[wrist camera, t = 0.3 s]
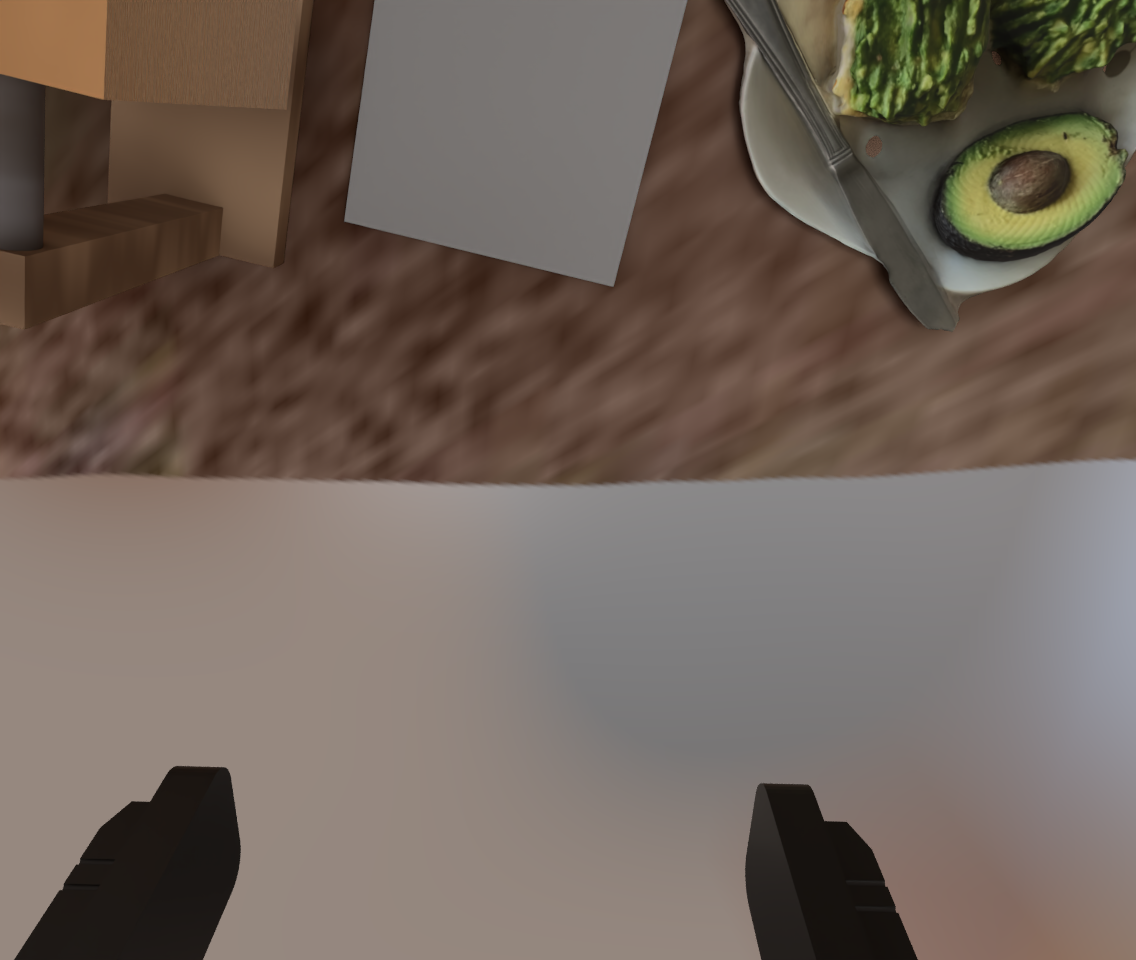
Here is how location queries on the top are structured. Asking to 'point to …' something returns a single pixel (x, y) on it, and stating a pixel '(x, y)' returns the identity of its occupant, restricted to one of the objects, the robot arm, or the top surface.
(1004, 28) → the salad plate
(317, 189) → the top surface
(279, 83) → the link
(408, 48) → the mat
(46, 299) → the stand
